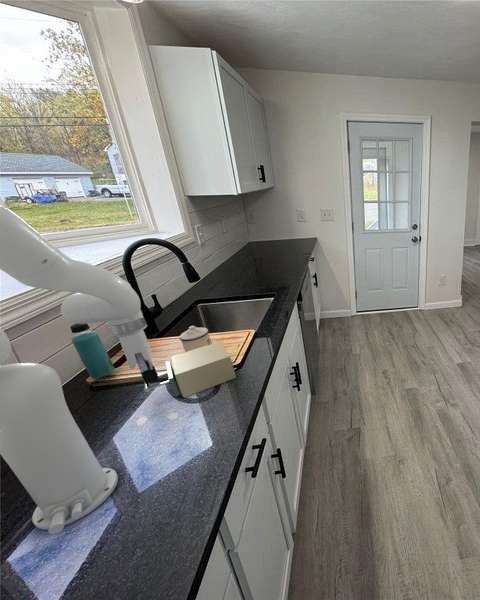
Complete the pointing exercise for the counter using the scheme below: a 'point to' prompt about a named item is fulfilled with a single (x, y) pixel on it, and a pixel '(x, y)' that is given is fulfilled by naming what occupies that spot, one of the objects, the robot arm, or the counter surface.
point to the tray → (171, 380)
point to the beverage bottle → (91, 351)
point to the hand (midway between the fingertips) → (152, 380)
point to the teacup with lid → (195, 338)
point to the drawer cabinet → (202, 368)
